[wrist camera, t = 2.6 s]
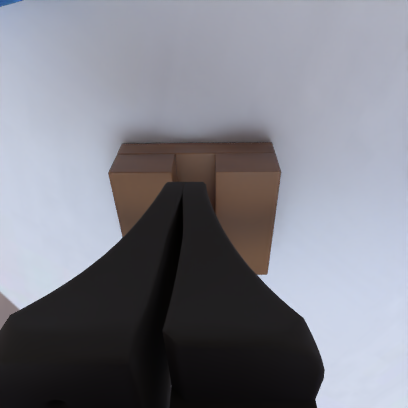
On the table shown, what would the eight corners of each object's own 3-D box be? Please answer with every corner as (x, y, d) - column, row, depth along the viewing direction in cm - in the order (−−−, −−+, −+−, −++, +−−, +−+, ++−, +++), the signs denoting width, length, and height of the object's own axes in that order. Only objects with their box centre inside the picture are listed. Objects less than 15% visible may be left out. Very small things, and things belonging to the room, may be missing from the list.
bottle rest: (261, 239, 22) (267, 275, 20) (139, 239, 22) (130, 274, 20) (272, 141, 18) (281, 171, 15) (121, 143, 18) (107, 172, 16)
